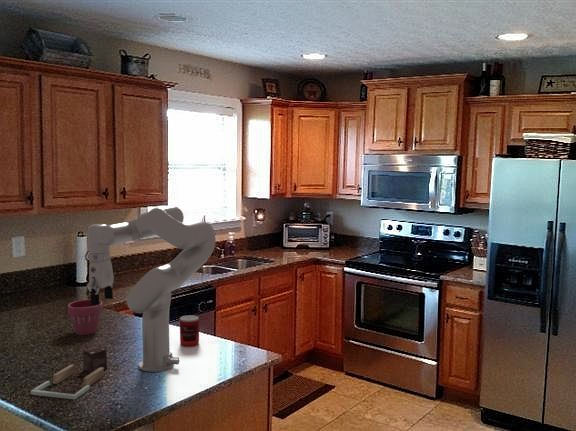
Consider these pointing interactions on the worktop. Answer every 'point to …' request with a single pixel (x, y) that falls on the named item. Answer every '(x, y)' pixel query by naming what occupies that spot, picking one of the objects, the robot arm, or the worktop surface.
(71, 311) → the plant pot
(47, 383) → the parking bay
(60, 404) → the worktop surface
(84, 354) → the box
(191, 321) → the canned food
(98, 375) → the channel
